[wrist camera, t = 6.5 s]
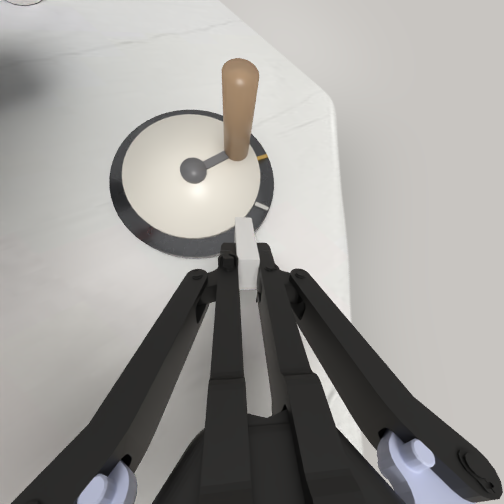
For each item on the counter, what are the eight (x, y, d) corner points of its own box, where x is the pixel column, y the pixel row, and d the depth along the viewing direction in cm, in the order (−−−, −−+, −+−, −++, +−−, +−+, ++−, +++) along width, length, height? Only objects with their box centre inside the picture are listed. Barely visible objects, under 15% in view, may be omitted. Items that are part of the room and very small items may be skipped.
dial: (126, 245, 22) (44, 210, 12) (125, 120, 25) (58, 10, 15) (266, 233, 24) (292, 196, 14) (251, 120, 27) (265, 24, 17)
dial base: (83, 168, 25) (72, 160, 23) (210, 96, 29) (209, 84, 27) (181, 292, 23) (178, 292, 22) (300, 198, 28) (304, 192, 26)
